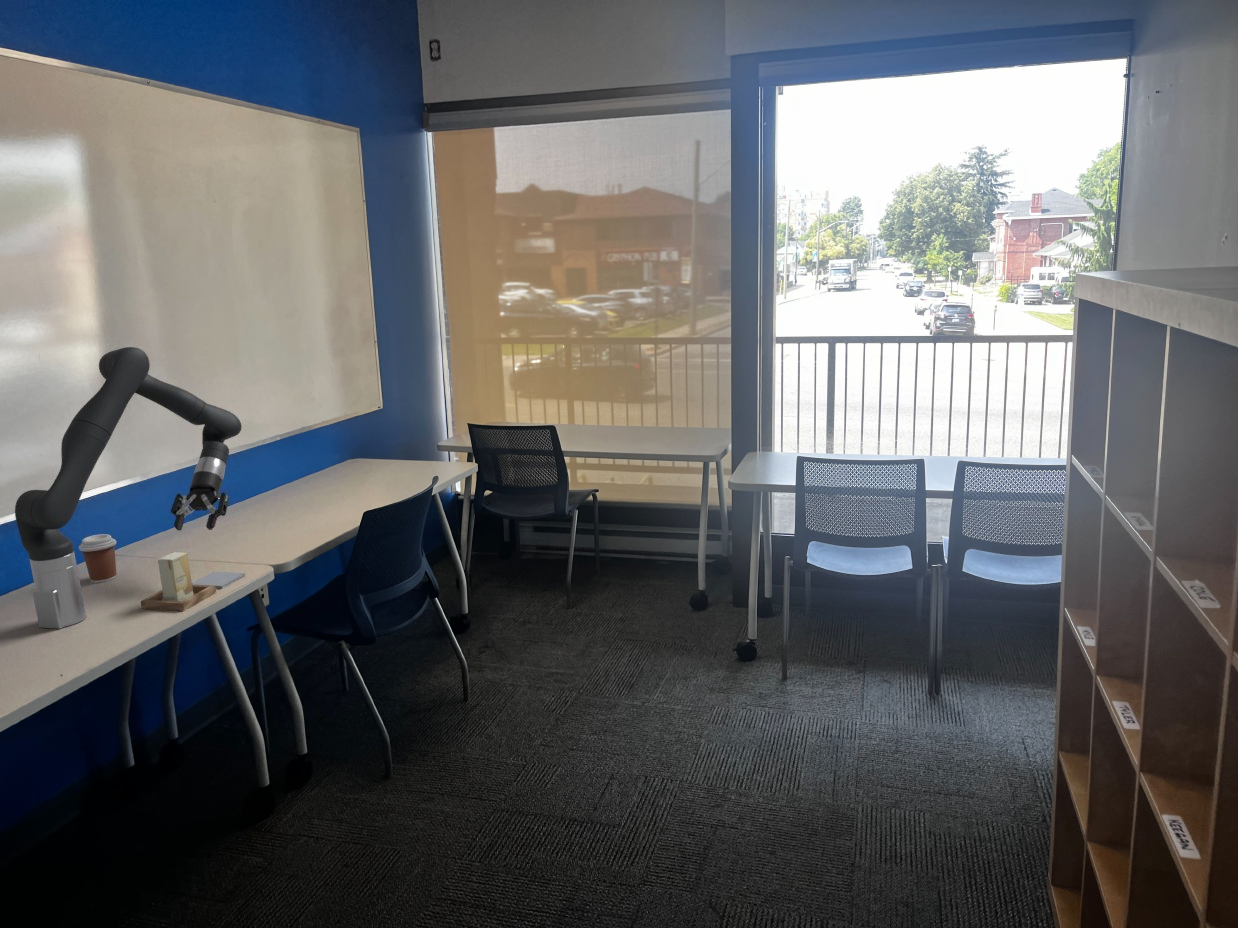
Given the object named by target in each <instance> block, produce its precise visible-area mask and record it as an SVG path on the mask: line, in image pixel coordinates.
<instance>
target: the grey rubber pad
mask: <svg viewBox="0 0 1238 928" xmlns="http://www.w3.org/2000/svg"><path fill="white" fill-rule="evenodd" d="M244 577H246V573H245V572H236V571H235V572H232V571H231V572H230V571H214V570H213V571H212V572H210V573H208V574H206V575H204V576H202V577H200V578H198V579H196V580H194V581H193V582H192V584H194V585H214V586H215V588H216V589H217V588H223V587H225V586H226V587H228V586H229V584H230V585H231V583H232V584H233V583H235V582H237V581H238V579H239V580H240V579H242V578H244ZM236 580H237V581H236ZM227 585H228V586H227ZM226 587H225V588H226ZM223 589H224V588H223Z"/></svg>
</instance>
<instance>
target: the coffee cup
mask: <svg viewBox="0 0 1238 928" xmlns="http://www.w3.org/2000/svg"><path fill="white" fill-rule="evenodd" d="M81 542H82V543H80V544H79V546H78V550H79V551H80V552H82V555H83V558H84V561H85V565H86V569H87V572H88V576H89V581H90V582H91V583H93V584H97V583H99V582H100V583H106V582H109V580H110V581H113V580H115V579H116V578H117V577H118V575H117V574H118V572H117V564H116V563H117V562H116V552H115V550H116V549H115V546H116V545H117V543H118V542H117V540H116V539H115V538H113V537H112V536H111V535H110V534H108V533H107V534H106V533H103V534H101V533H100V534H93V535H90V536H87V537H85V538H83V539H82V540H81ZM116 576H117V577H116ZM114 578H115V579H114ZM112 579H113V580H112ZM105 581H106V582H105ZM100 583H99V584H100Z"/></svg>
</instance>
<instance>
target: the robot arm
mask: <svg viewBox="0 0 1238 928" xmlns="http://www.w3.org/2000/svg"><path fill="white" fill-rule="evenodd" d="M149 359H150V358H149V357H148V354H147V353H146V352H145V351H144V350H143V349H141V348H138V347H135V346H134V347H133V346H128V347H122V348H119V349H115V350H111V351H109V352H107V353H105V354H103V356H101V358H99V363H98V370H99V373H100V375H101V376H102V377H103V378H104V380H105V381H104V383H103V385H102V386H101V387H100V389H99V390H98V391H96V393H95V394H94V395H93V396H92V397H91V398H90V399H89V400H88V401H87V402H86V403H85V404H84V405H82V406H81V408H80V409H79V410H78V412H77V413H76V415H74V417H73V418H72V419H71V422H70V423H69V425H68V427H67V429H66V430H65V432H64V434H63V435H62V436H63V437H62V439H61V449H60V450H61V451H60V452H61V465H60V469H59V471H58V474H57V475H56V477H55V479H54V481H53V483H52V485H51V486H50V487H49V489H46V490H45V489H30V490H26V491H24V492H23V493H22V494H20V495H19V497H18V498H17V500H16V502H15V506H14V515H15V516H14V517H15V522H16V525H17V530H18V533H19V536H20V541H21V544H22V547H23V548H24V550H25V551H26V553H27V555H28V558H29V563H30V568H31V574H32V577H33V583H34V587H35V589H34V590H32V597H33V598H32V599H33V602H34V608H35V612H36V618H37V623H38V626H39V628H45V629H62V628H65V627H68V626H69V627H70V626H73V625H75V624H77V623H80V622H82V621H83V620H85V619H86V618H87V612H86V607H85V601H84V597H83V592H82V587H81V582H80V574H79V571H78V565H77V559H76V555H75V549H74V544H73V542H72V540H71V539H70V538H68V537H66V535H64V534H63V533H62V532H61V531H60V530H59V529H62V528H63V527H65V526H66V525H67V524H68V523H69V522H70V521H71V519H72V518H73V516H74V513H75V511H76V509H77V507H78V505H79V502H80V499H81V497H82V495H83V491H84V489H85V487H86V484H87V482H88V480H89V478H90V476H91V474H92V472H93V470H94V469H95V467H96V464H97V462H98V461H99V459H100V457H101V455H102V453H103V451H104V450H105V448H106V446H107V445H108V444H109V441H110V439H111V437H112V435H113V434H114V432H115V429H116V428H117V425H118V423H119V422H120V419H121V417H122V415H123V414H124V412H125V410H126V408H127V406H128V404H129V402H130V400H131V399H132V398H133V396H134V395H135V394H137V395H139V396H141V397H143V398H145V399H148V400H149V401H151V402H153V403H154V404H155V403H156V404H157V405H159V406H161V407H163V408H164V409H166V410H168V411H170V412H172V413H174V414H175V415H176V416H178V417H180V418H182V419H183V420H185V421H186V422H188V423H190V424H192V425H194V426H202V425H204V426H203V428H202V432H201V433H202V434H201V435H202V438H201V439H202V440H201V444H202V450H201V453H200V456H199V458H198V461H197V463H196V466H195V469H194V471H193V476H192V479H191V483H190V485H189V486H190V487H189V492H188V494H186V495H182V494H181V493H177V494H176V495H175V497H174V501H173V504H172V506H171V508H170V513H171V514H172V515H173V516H174V517H175V521H174V522H173V526H174V527H175V529H176V530H177V531H180V532H181V531H182V530H183V527H184V523H185V520H186V519H185V518H186V517H187V516H188V515H191V514H192V513H193V512H194V511H195V512H197V511H198V512H199V511H205V512H206V511H207V510H208V511H209V512H210V514H208V518H207V521H206V525H205V527H206V529H207V530H209V531H212V530H213V529H214V528H215V527H216V523H217V520H218V518H219V517H221V516H222V517H224V516H226V515H227V510H228V505H229V501H230V497H229V496H228V495H227V494H226V492H221V488H222V485H223V481H224V477H225V473H226V466H227V462H228V459H229V455H230V449H229V446H228V445H227V444H225V443H224V442H225V441H227V440H229V439H231V438H233V437H236V436H238V435H239V434H240V433H241V431H242V423H241V421H240V419H239V417H237V415H236V414H234V413H233V412H231V411H230V410H227V409H224V408H222V407H219V406H216V405H214V404H213V405H212V404H209V403H207V402H205V400H203V399H201V398H199V397H198V396H197V395H195V394H193V393H191V392H190V391H188V390H185V389H183V388H181V387H179V386H176V385H174V384H170V383H167V382H165V381H162V380H160V379H158V378H156V377H154V376H152V375H150V374H149V371H150V366H151V365H150V360H149ZM220 492H221V493H220ZM218 501H219V502H218ZM217 502H218V508H217V509H216V507H215V505H214V504H216V503H217Z"/></svg>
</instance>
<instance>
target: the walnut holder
mask: <svg viewBox="0 0 1238 928" xmlns="http://www.w3.org/2000/svg"><path fill="white" fill-rule="evenodd" d="M192 588H193V594H194V595H193V596H191V597H189V598H187V599H186V600H184V601H165V600H164V598H163V591H162V589H161V590H160V591H157V592H155V593H154V594H151V595H150V596H148V597H146V598H144V599H142V600H140V606H141V609H145V610H159V609H160V610H159V611H161V610H162V611H177V610H180V611H181V612H184V611H183V610H185V611H186V609H187V610H189V609H191V608H192V607H194V606H195V605H197V604H199V603H200V602H202V601H204V600H206V599H208V598H210V597H211V596H213V595H214V593H215V592H216V593H217V588H215V586H214V585H194V584H192ZM216 593H215V594H216ZM212 594H213V595H212ZM210 595H211V596H210ZM209 596H210V597H209Z"/></svg>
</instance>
